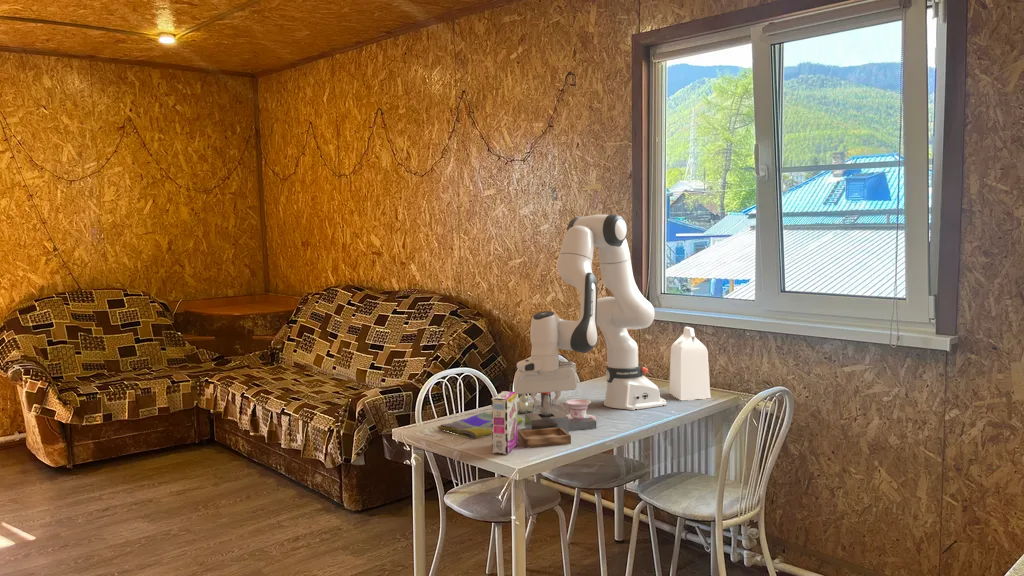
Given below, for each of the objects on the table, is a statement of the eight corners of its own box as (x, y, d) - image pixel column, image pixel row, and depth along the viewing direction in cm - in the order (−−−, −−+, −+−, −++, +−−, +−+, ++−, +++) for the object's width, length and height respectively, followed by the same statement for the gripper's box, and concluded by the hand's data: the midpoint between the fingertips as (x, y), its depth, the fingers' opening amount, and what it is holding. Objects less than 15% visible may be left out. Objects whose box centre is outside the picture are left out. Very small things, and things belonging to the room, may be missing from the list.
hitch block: (589, 422, 256) (589, 408, 255) (598, 429, 247) (598, 414, 246) (524, 428, 251) (524, 413, 250) (532, 435, 242) (531, 420, 241)
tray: (561, 435, 242) (561, 427, 242) (571, 443, 232) (570, 435, 232) (518, 439, 239) (517, 431, 239) (525, 447, 229) (525, 439, 229)
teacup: (597, 415, 266) (597, 398, 265) (594, 424, 254) (594, 406, 253) (563, 415, 268) (562, 397, 267) (558, 423, 256) (557, 405, 256)
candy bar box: (508, 455, 222) (506, 399, 221) (491, 454, 224) (490, 398, 222) (519, 444, 233) (517, 390, 232) (503, 443, 234) (501, 390, 233)
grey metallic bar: (549, 428, 250) (549, 387, 248) (552, 431, 246) (551, 389, 245) (540, 429, 249) (539, 388, 248) (543, 432, 246) (542, 390, 245)
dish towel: (525, 425, 257) (524, 417, 257) (472, 441, 239) (471, 432, 239) (488, 417, 269) (487, 409, 269) (435, 432, 251) (434, 424, 251)
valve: (532, 415, 268) (531, 381, 267) (513, 415, 269) (512, 381, 268) (535, 411, 274) (534, 377, 273) (517, 410, 276) (516, 377, 275)
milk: (710, 399, 285) (710, 329, 283) (680, 400, 283) (680, 330, 281) (697, 392, 297) (697, 325, 295) (669, 394, 295) (668, 326, 293)
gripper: (573, 359, 251) (574, 400, 252) (511, 363, 247) (513, 406, 248) (579, 362, 245) (580, 405, 246) (516, 366, 241) (517, 410, 242)
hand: (545, 405), depth 247 cm, fingers open, 4 cm apart
